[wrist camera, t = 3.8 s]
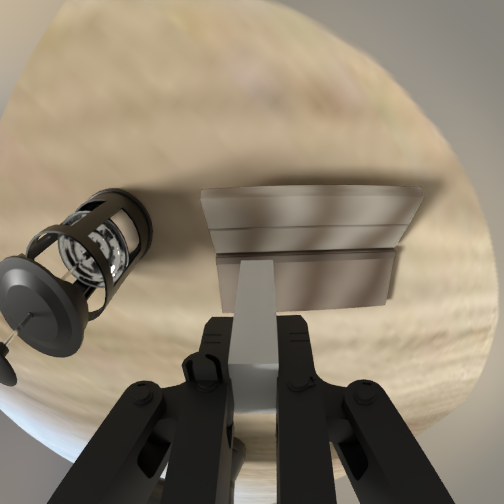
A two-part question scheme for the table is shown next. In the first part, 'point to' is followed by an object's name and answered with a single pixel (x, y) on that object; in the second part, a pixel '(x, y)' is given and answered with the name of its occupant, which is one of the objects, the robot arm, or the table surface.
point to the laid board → (315, 277)
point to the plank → (308, 216)
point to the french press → (79, 265)
